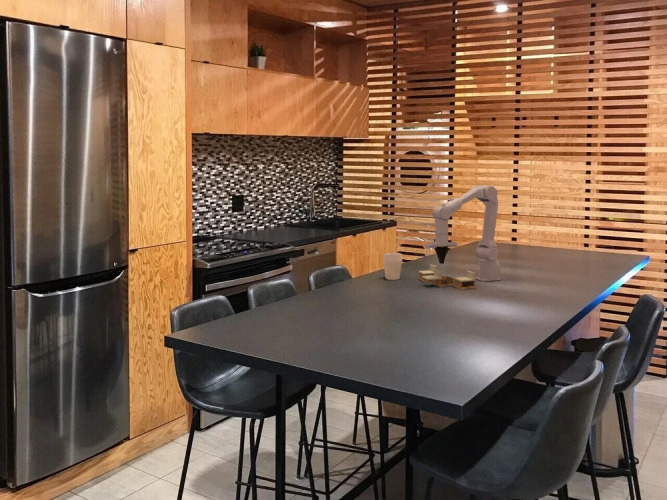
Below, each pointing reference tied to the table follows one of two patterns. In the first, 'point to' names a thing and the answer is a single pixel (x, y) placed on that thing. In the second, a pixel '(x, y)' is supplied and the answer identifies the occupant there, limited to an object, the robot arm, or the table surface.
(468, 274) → the lid
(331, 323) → the table surface
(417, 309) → the table surface
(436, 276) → the lid
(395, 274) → the cup
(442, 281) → the crates
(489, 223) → the robot arm
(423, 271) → the lid
